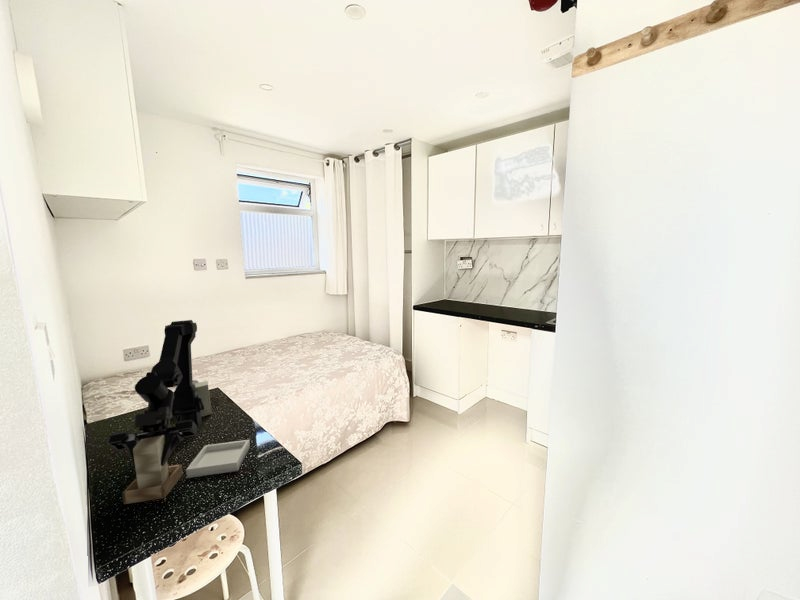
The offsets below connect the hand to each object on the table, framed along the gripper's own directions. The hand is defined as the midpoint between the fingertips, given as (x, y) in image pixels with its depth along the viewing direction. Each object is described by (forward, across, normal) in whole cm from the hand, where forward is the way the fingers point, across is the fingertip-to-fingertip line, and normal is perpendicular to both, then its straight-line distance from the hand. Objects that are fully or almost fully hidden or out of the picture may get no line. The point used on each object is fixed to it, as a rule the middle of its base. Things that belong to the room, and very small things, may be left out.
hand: (149, 468), depth 81 cm
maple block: (+4, 0, +6) cm, 7 cm away
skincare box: (-29, +2, +38) cm, 48 cm away
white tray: (-1, +14, +10) cm, 18 cm away
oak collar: (+4, 0, +6) cm, 7 cm away
